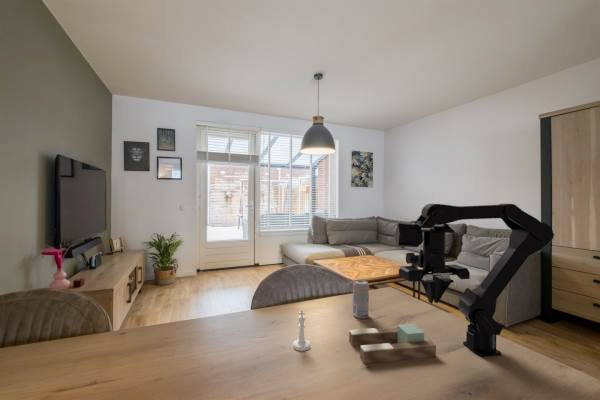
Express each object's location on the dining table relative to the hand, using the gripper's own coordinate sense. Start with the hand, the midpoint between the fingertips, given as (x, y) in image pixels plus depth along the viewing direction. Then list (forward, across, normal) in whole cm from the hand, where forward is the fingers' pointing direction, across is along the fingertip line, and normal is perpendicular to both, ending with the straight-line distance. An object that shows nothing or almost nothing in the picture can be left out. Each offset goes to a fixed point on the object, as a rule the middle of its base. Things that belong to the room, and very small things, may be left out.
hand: (433, 302), depth 75 cm
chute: (+12, +13, 0) cm, 18 cm away
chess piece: (+12, +37, -5) cm, 39 cm away
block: (+12, +7, 0) cm, 14 cm away
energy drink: (+12, +13, -21) cm, 28 cm away
